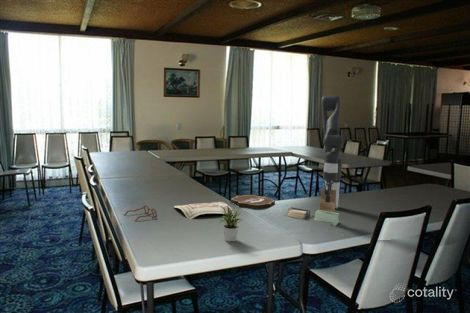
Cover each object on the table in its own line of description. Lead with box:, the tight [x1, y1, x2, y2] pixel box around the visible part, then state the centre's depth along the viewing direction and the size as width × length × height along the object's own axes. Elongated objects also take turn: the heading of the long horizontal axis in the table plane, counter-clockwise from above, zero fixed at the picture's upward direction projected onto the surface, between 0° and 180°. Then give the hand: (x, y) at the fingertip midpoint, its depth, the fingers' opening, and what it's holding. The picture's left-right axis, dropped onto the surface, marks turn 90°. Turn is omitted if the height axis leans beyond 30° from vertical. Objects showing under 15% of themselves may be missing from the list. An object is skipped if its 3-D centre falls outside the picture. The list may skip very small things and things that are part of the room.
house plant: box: [217, 206, 246, 242], centre depth 171 cm, size 14×14×16 cm
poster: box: [173, 201, 236, 220], centre depth 219 cm, size 28×6×30 cm
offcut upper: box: [287, 210, 306, 216], centre depth 213 cm, size 5×9×2 cm, turn 68°
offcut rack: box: [282, 206, 313, 221], centre depth 216 cm, size 12×14×4 cm
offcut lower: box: [288, 214, 306, 220], centre depth 214 cm, size 5×9×2 cm, turn 64°
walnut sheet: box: [319, 187, 336, 213], centre depth 210 cm, size 2×8×12 cm, turn 63°
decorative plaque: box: [230, 194, 276, 210], centre depth 246 cm, size 30×3×30 cm
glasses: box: [123, 204, 158, 222], centre depth 201 cm, size 13×13×5 cm
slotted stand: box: [313, 209, 340, 227], centre depth 211 cm, size 8×12×6 cm, turn 64°
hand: (327, 201), depth 210 cm, fingers closed on walnut sheet, 1 cm apart
